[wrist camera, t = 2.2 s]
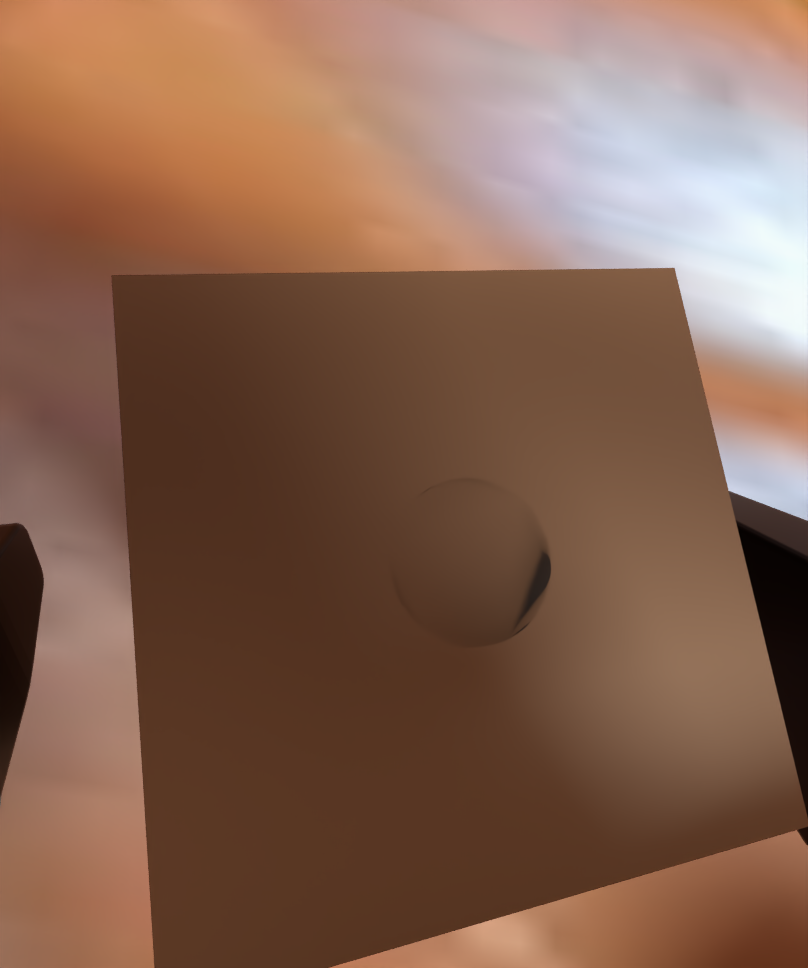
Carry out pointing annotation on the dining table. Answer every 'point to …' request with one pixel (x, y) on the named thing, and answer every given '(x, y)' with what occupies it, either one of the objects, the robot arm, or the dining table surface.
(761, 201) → the dining table surface
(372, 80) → the dining table surface
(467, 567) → the walnut block
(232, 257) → the dining table surface
